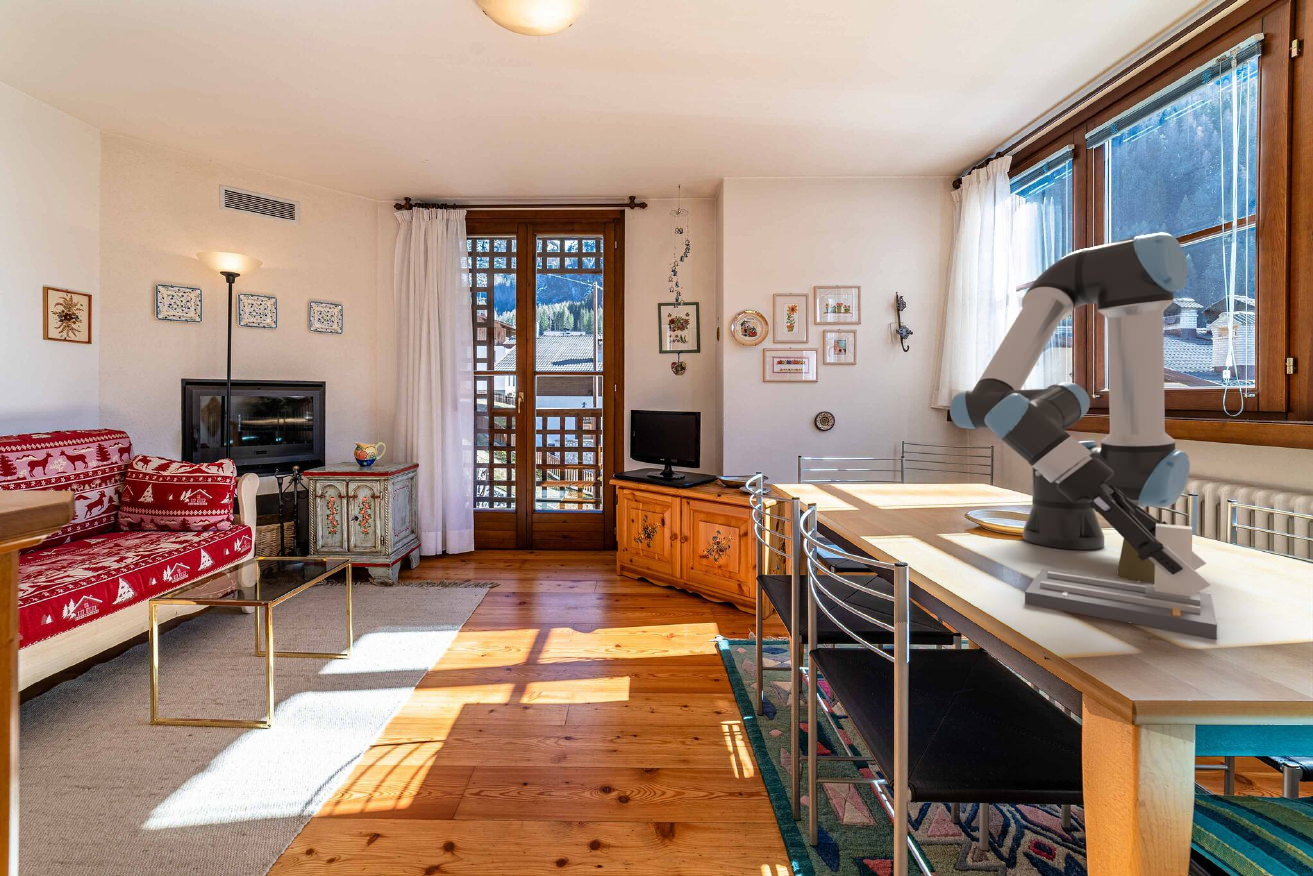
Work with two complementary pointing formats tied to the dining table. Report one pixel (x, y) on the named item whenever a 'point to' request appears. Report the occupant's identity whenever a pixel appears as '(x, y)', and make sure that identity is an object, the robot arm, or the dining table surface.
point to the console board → (1120, 603)
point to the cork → (1135, 565)
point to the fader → (1164, 585)
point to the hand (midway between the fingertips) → (1199, 578)
